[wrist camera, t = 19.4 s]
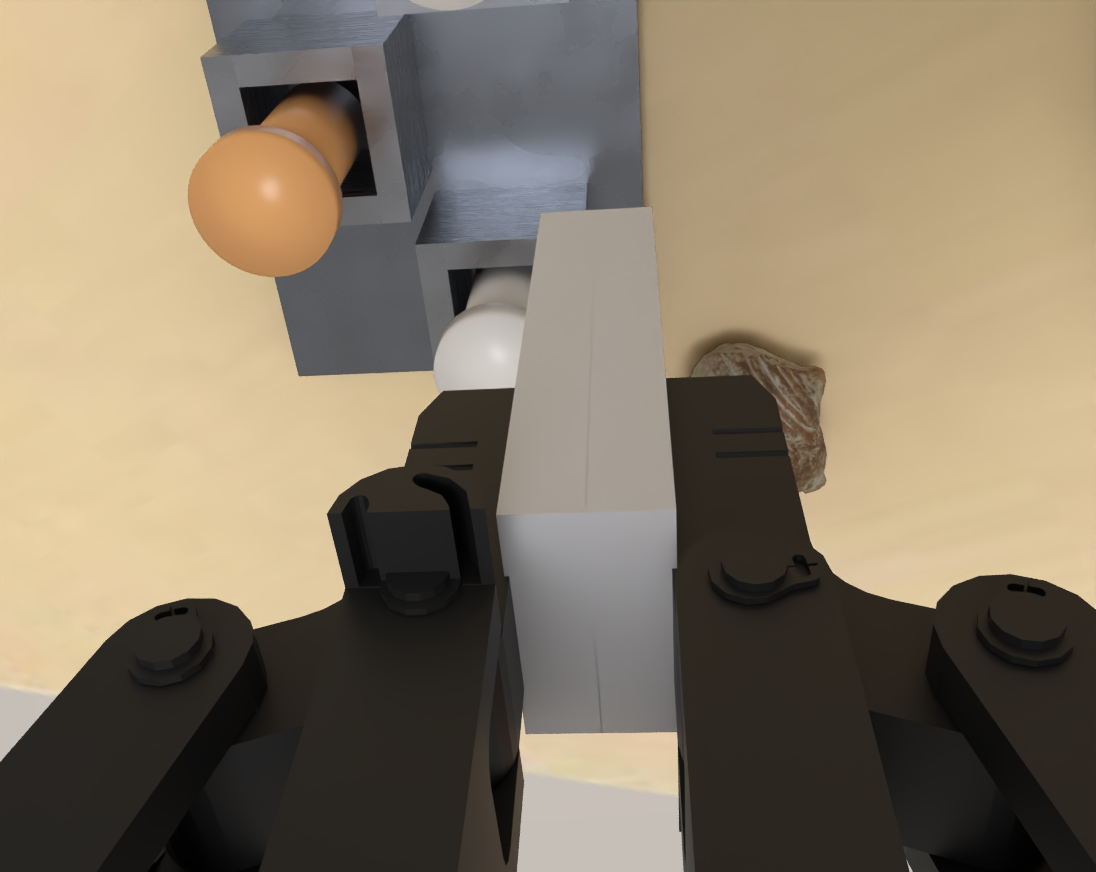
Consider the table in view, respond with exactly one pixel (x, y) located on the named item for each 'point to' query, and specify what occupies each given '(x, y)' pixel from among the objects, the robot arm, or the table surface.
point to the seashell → (781, 402)
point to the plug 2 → (485, 333)
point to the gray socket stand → (436, 149)
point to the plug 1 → (446, 4)
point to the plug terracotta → (279, 182)
